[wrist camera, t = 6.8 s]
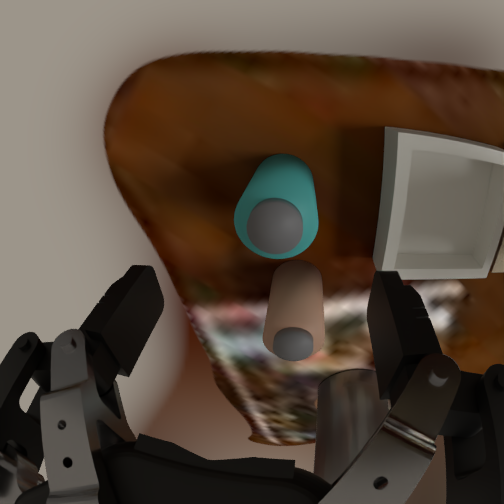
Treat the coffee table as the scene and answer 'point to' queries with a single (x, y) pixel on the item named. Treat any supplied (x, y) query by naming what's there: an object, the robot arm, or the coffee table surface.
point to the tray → (439, 206)
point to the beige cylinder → (295, 312)
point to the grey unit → (499, 256)
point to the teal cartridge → (278, 208)
